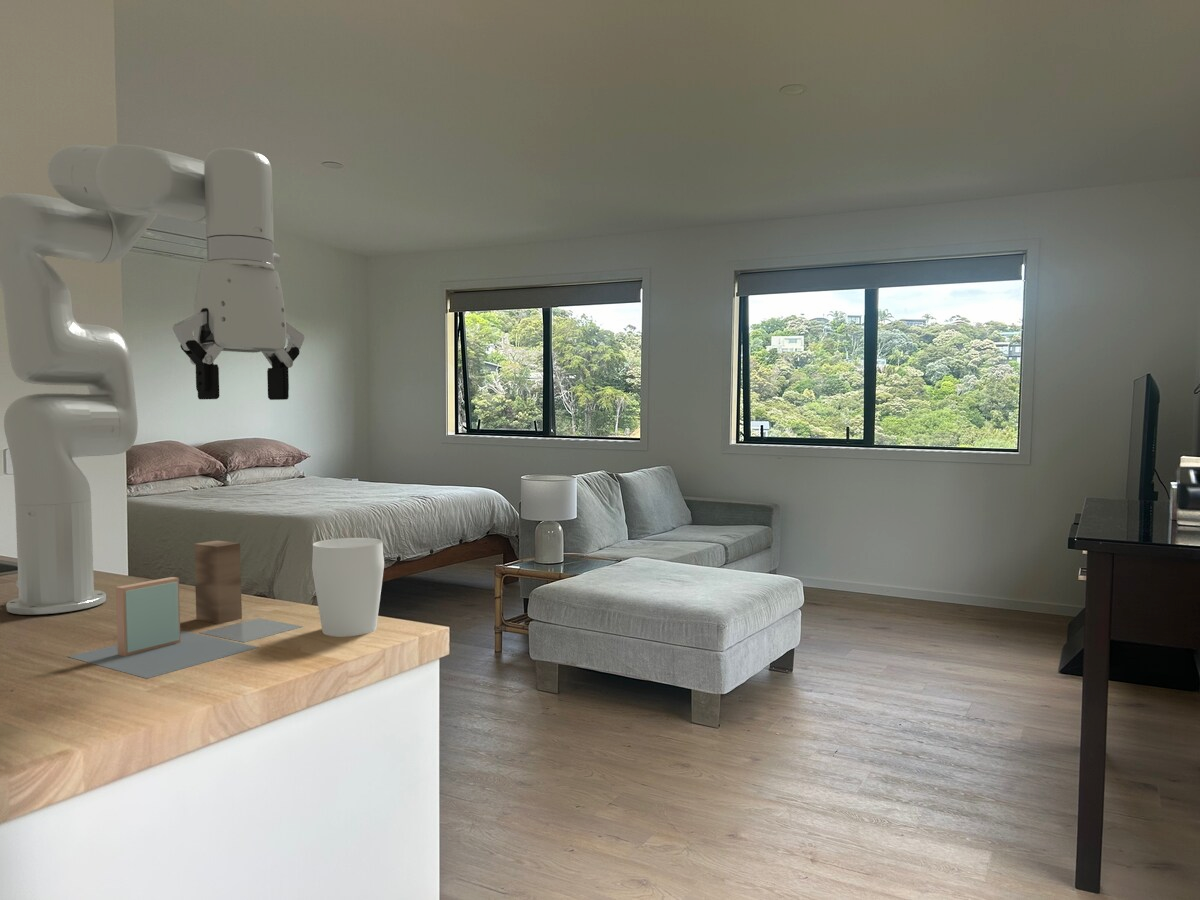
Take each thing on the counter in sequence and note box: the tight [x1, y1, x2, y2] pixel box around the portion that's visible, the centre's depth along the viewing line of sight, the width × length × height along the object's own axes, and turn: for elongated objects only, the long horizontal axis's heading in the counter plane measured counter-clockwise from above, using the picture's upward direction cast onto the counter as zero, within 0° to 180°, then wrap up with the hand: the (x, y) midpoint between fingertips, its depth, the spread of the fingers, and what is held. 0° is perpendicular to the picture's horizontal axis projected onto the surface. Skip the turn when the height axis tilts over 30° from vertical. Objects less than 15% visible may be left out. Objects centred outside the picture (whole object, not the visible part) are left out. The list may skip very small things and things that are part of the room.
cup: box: [311, 537, 385, 638], centre depth 113 cm, size 9×9×12 cm
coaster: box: [199, 617, 304, 644], centre depth 113 cm, size 9×9×1 cm
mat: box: [67, 629, 260, 680], centre depth 103 cm, size 16×14×1 cm
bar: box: [193, 539, 243, 625], centre depth 119 cm, size 5×4×11 cm
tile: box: [115, 576, 181, 656], centre depth 105 cm, size 2×7×8 cm, turn 149°
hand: (244, 399), depth 106 cm, fingers open, 9 cm apart
